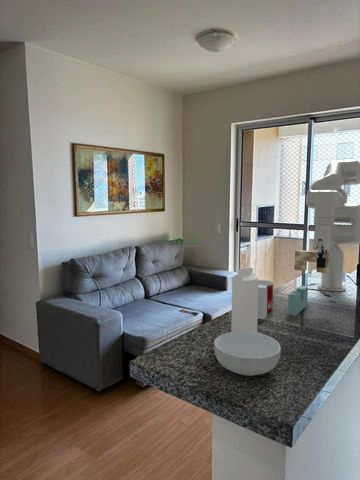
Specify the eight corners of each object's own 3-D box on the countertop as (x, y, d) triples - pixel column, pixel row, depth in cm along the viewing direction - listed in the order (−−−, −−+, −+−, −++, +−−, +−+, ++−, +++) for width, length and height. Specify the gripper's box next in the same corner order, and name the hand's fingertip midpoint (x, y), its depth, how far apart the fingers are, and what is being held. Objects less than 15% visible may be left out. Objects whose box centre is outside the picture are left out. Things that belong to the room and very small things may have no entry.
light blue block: (299, 304, 148) (300, 285, 147) (307, 305, 147) (307, 286, 146) (287, 314, 135) (288, 294, 134) (295, 316, 134) (296, 295, 133)
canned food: (270, 306, 146) (271, 280, 144) (273, 312, 138) (274, 285, 136) (251, 306, 146) (252, 280, 145) (253, 312, 138) (254, 284, 137)
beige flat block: (294, 269, 148) (295, 250, 147) (296, 268, 151) (297, 250, 150) (327, 273, 141) (328, 253, 140) (328, 272, 143) (329, 252, 143)
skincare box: (267, 316, 133) (267, 285, 132) (264, 320, 129) (265, 288, 128) (251, 314, 136) (251, 283, 134) (248, 317, 132) (248, 286, 131)
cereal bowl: (202, 373, 90) (202, 346, 90) (230, 349, 104) (230, 326, 103) (266, 392, 81) (267, 363, 80) (288, 364, 95) (289, 339, 94)
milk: (257, 336, 114) (259, 269, 112) (242, 340, 111) (244, 271, 109) (245, 330, 120) (246, 266, 117) (230, 333, 117) (232, 267, 114)
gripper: (318, 220, 150) (316, 263, 152) (308, 222, 137) (307, 269, 139) (337, 221, 146) (335, 265, 148) (329, 222, 133) (327, 271, 134)
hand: (321, 266), depth 143 cm, fingers closed on beige flat block, 3 cm apart
